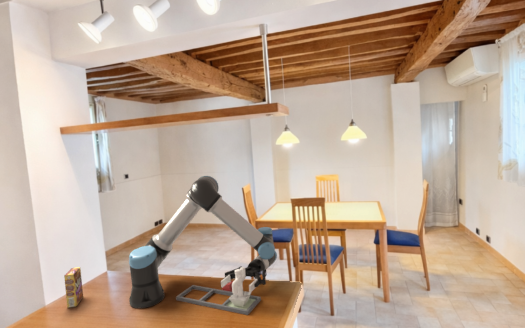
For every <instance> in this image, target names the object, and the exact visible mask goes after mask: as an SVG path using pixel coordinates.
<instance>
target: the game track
mask: <svg viewBox="0 0 525 328" xmlns="http://www.w3.org/2000/svg"><path fill="white" fill-rule="evenodd" d="M193 290H196V291H201V292H206V294H205V295H203V296H202V297H201V298H199V299H194V298H190V297H185V296H186V295H188V294H189V293H190V292H191V291H193ZM213 294H217V295H224V296H229V297H231V296H232V295H233V292H230V291H224V290H222V289H217V288H211V287H207V286H200V285H195V284H192V285H191V286H189V287H188V288H186V289H185V290H184V291H182V292H181V293H179V294H177V296H175V300H176V301H177V302H183V303H188V304H193V305H197V306H202V307H208V308H212V309H217V310H222V311H227V312H232V313H236V314H240V315H246V316H249V315H250V313H251V312H252V311H253V310H254V309H255V308H256V306H257V305H258V304H259V303H260V302H261V301H262V298H261V296H257V295H252V294H251V295H250V297H249V300H248V302H247V303H246V304H245V305H244V306H243V307H240V306H234V305H233V304H232V302H231V301H230V300H229V298H227V299H226V300H225V301H224V302H223V303H222V304H220V303H215V302H209V301H207V300H208V299H209V298H210V297H211V296H212V295H213Z"/></svg>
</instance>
